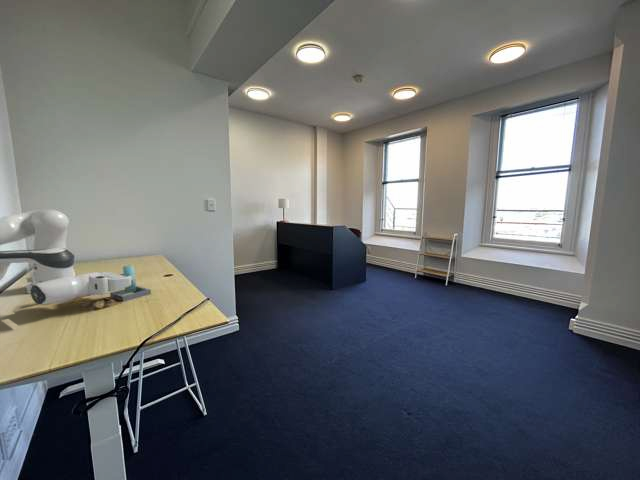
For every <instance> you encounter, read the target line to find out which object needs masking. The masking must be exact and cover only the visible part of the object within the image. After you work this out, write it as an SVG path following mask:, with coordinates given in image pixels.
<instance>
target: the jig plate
mask: <svg viewBox="0 0 640 480" xmlns="http://www.w3.org/2000/svg"><path fill="white" fill-rule="evenodd" d="M97 301H104V302H105V308H104V309H106V308H111V307H113V306H118V305H120V304H121V305H122V301H119V300H118V301H117V300H116V299H114V298H111V297H106V296H105V297H102V298H97V299H94V300H89V301H85V302H82V303H80V306H83V307H86V308H89V309H90V310H92V311H99V310H101V309H98V310H96V309H95V305H94V302H97Z"/></svg>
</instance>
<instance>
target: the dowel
mask: <svg viewBox="0 0 640 480" xmlns="http://www.w3.org/2000/svg"><path fill="white" fill-rule="evenodd" d="M122 270H123V271H122V272H123V273H122V274H124V276H129V275H136V271H135V270H136V269H135V265H126V266H123V267H122ZM136 283H137V281H136V279H133V280H131V285H130V286H129V287H126V288H124V289H125V292H132V293H134V292H133V291H136V286H137V285H136ZM136 292H137V291H136Z"/></svg>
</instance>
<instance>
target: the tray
mask: <svg viewBox="0 0 640 480" xmlns="http://www.w3.org/2000/svg"><path fill="white" fill-rule="evenodd" d="M151 294H152V290H151V289H150V288H145V287H143V286H139V285H136V291H133V292H125V288H123V289H119V290H115V291H110V292H109V298H110V299H113V300H116V301H117V300H118V301H119V302H122V303H124V302H127V301H131V300H135V299H138V298H142V297H145V296H149V295H151Z"/></svg>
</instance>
